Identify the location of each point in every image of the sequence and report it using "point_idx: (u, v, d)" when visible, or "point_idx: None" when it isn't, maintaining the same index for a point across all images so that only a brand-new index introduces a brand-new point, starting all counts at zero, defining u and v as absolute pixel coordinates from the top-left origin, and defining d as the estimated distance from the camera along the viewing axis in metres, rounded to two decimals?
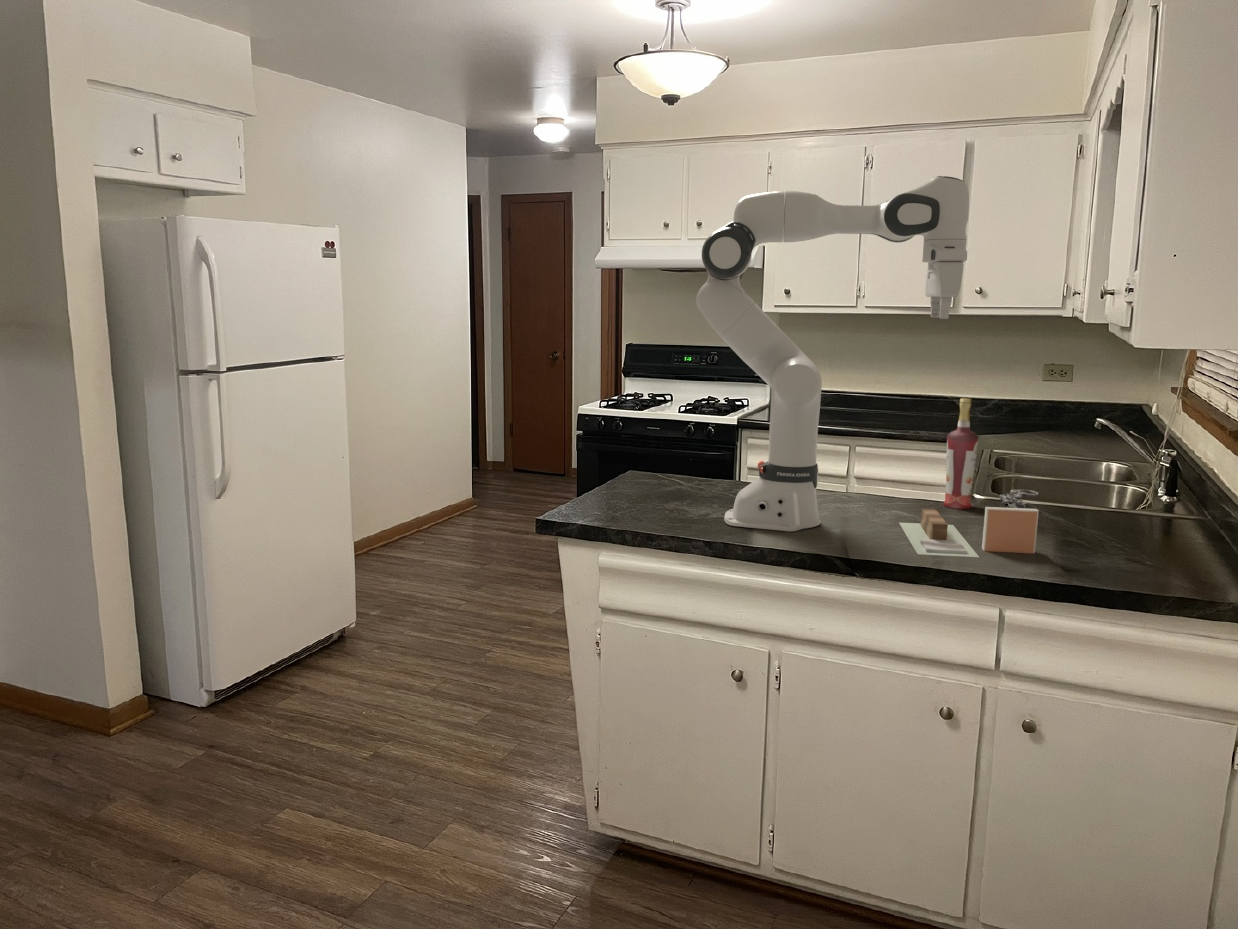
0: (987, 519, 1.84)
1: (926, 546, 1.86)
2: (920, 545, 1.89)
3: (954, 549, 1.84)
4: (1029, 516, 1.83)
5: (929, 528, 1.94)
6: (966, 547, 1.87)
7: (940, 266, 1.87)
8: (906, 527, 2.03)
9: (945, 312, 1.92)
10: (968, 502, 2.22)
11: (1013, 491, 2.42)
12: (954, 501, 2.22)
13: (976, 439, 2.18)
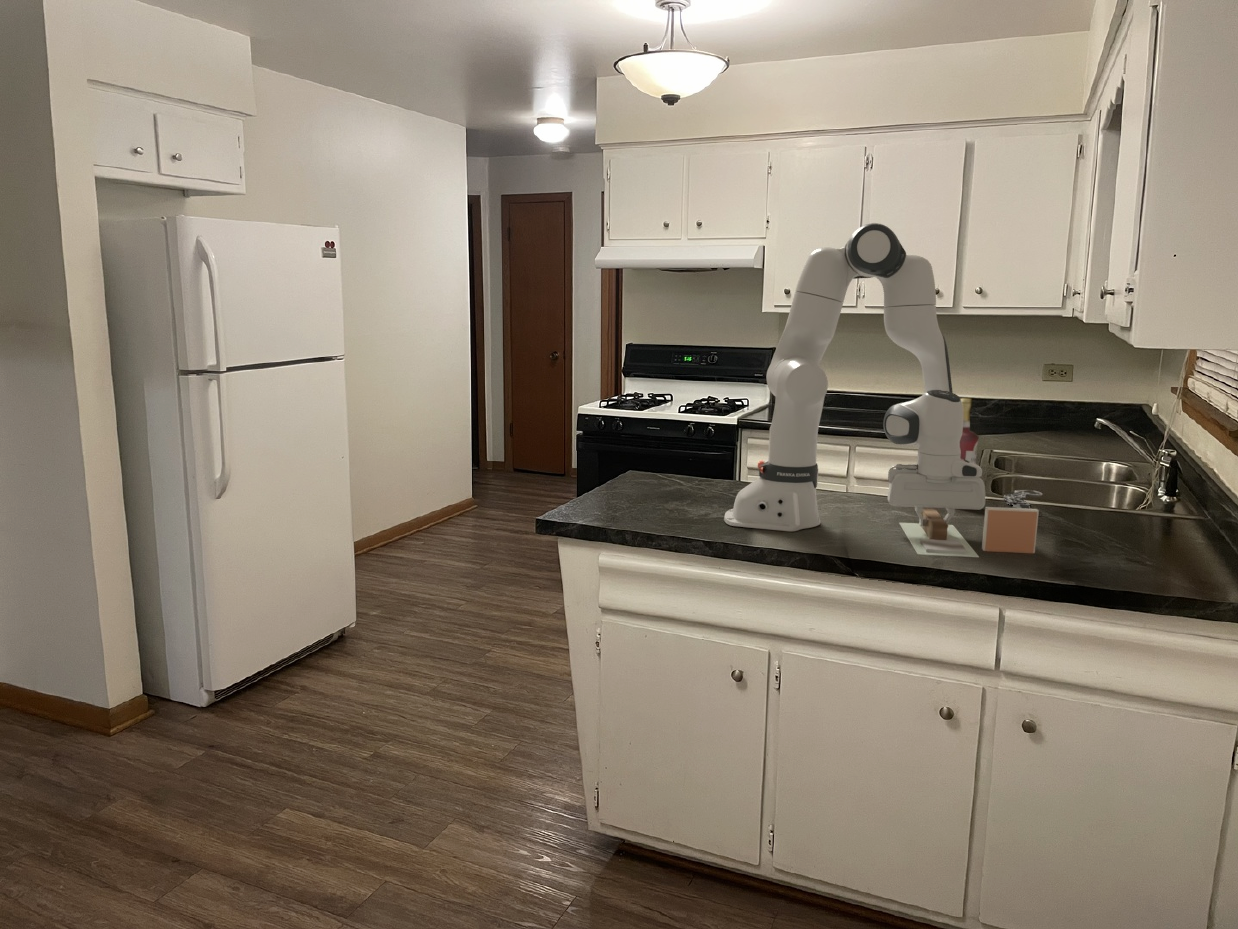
0: (987, 519, 1.84)
1: (926, 546, 1.86)
2: (920, 545, 1.89)
3: (954, 549, 1.84)
4: (1029, 516, 1.83)
5: (929, 528, 1.94)
6: (966, 547, 1.87)
7: (983, 482, 1.92)
8: (906, 527, 2.03)
9: None
10: None
11: (1017, 492, 2.41)
12: None
13: (976, 439, 2.18)
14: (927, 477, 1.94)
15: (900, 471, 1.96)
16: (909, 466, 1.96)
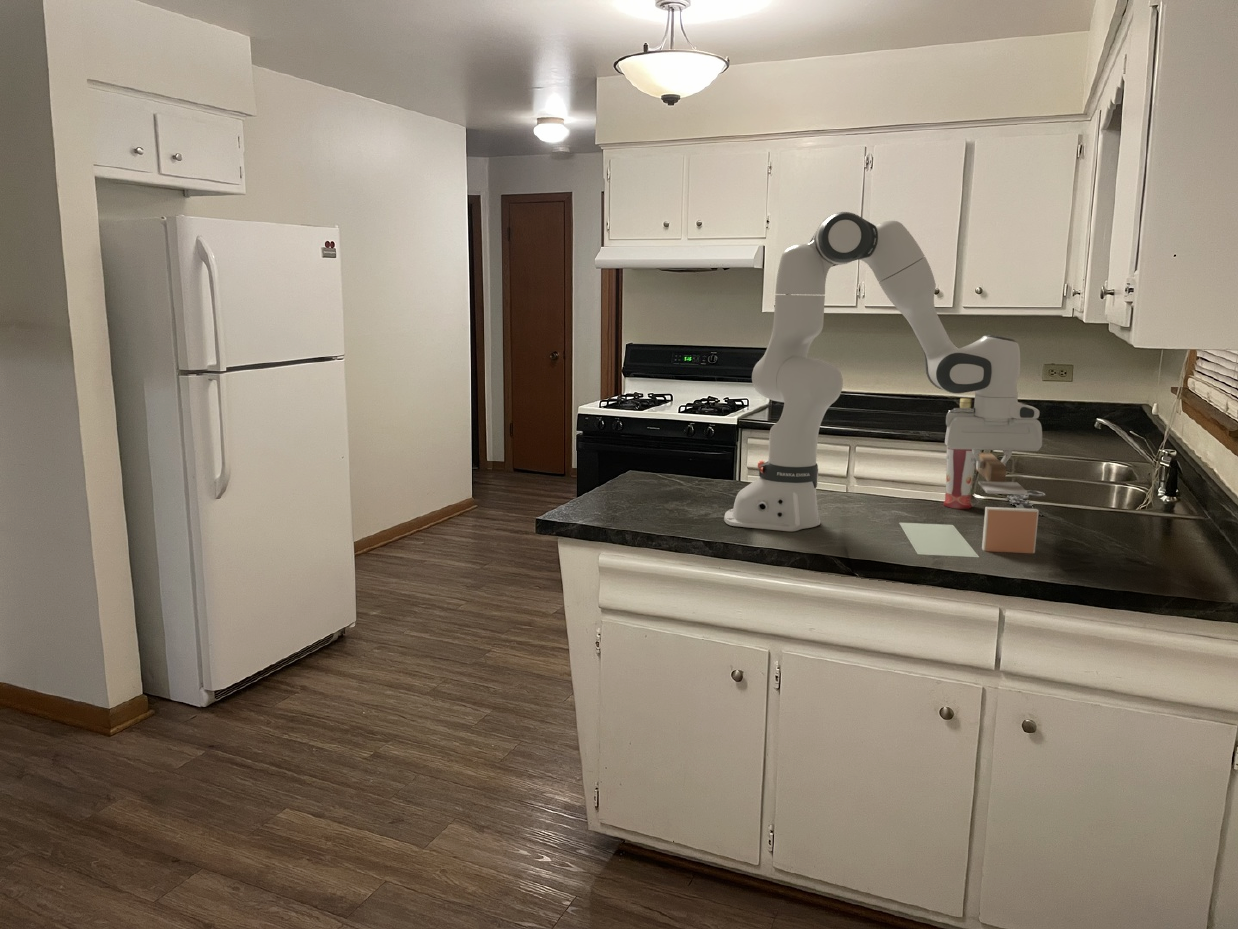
0: (987, 519, 1.84)
1: (986, 488, 1.91)
2: (920, 545, 1.89)
3: (1014, 490, 1.89)
4: (1029, 516, 1.83)
5: (987, 471, 1.99)
6: (966, 547, 1.87)
7: (1040, 423, 1.97)
8: (906, 527, 2.03)
9: None
10: (968, 502, 2.22)
11: None
12: (954, 501, 2.22)
13: None
14: (985, 420, 1.98)
15: (958, 415, 2.01)
16: (967, 409, 2.00)
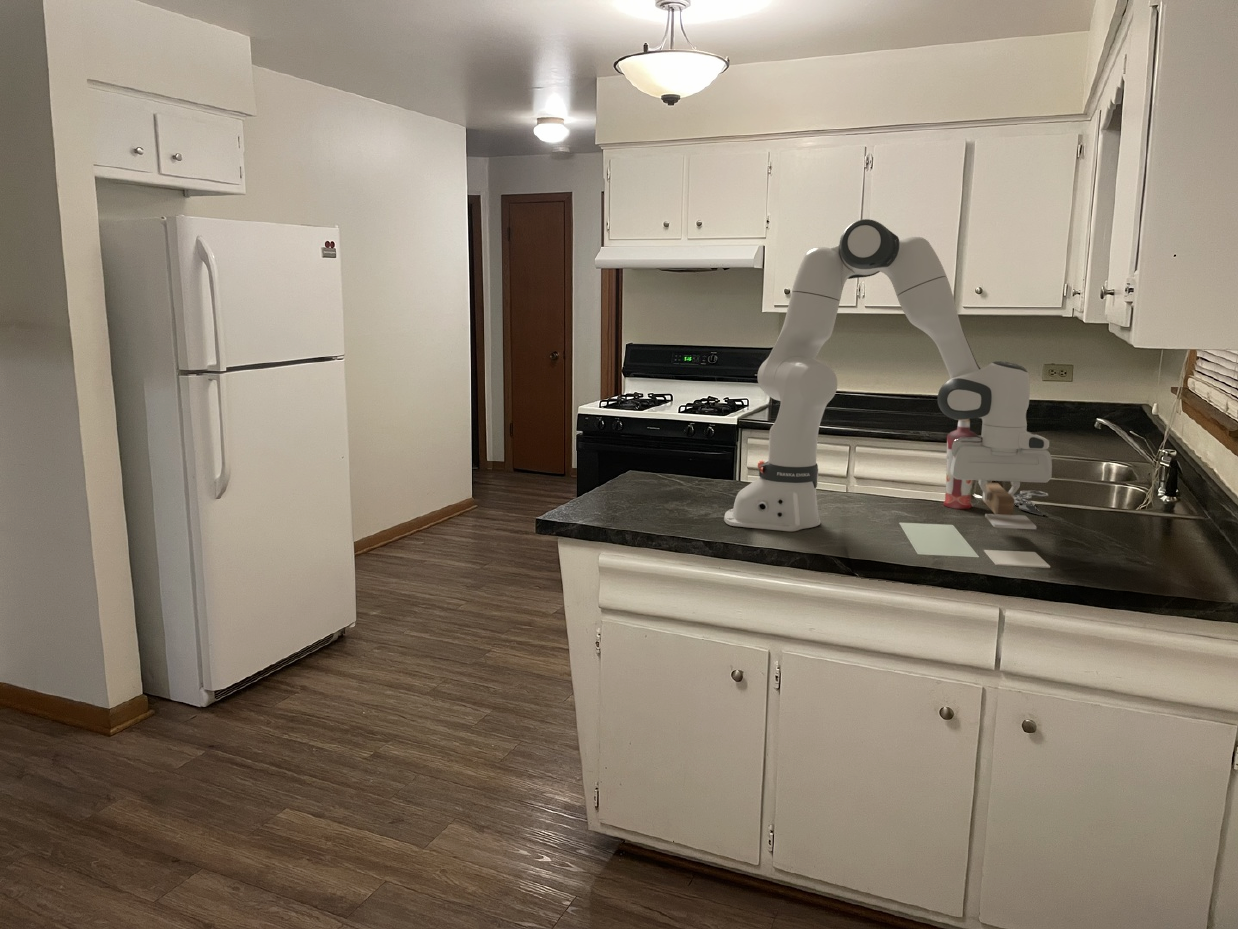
0: None
1: (994, 521, 1.83)
2: (920, 545, 1.89)
3: (1023, 524, 1.81)
4: None
5: (994, 503, 1.91)
6: (966, 547, 1.87)
7: (1049, 454, 1.89)
8: (906, 527, 2.03)
9: None
10: (968, 502, 2.22)
11: (1023, 492, 2.40)
12: (954, 501, 2.22)
13: None
14: (992, 449, 1.91)
15: (964, 444, 1.93)
16: (973, 439, 1.93)
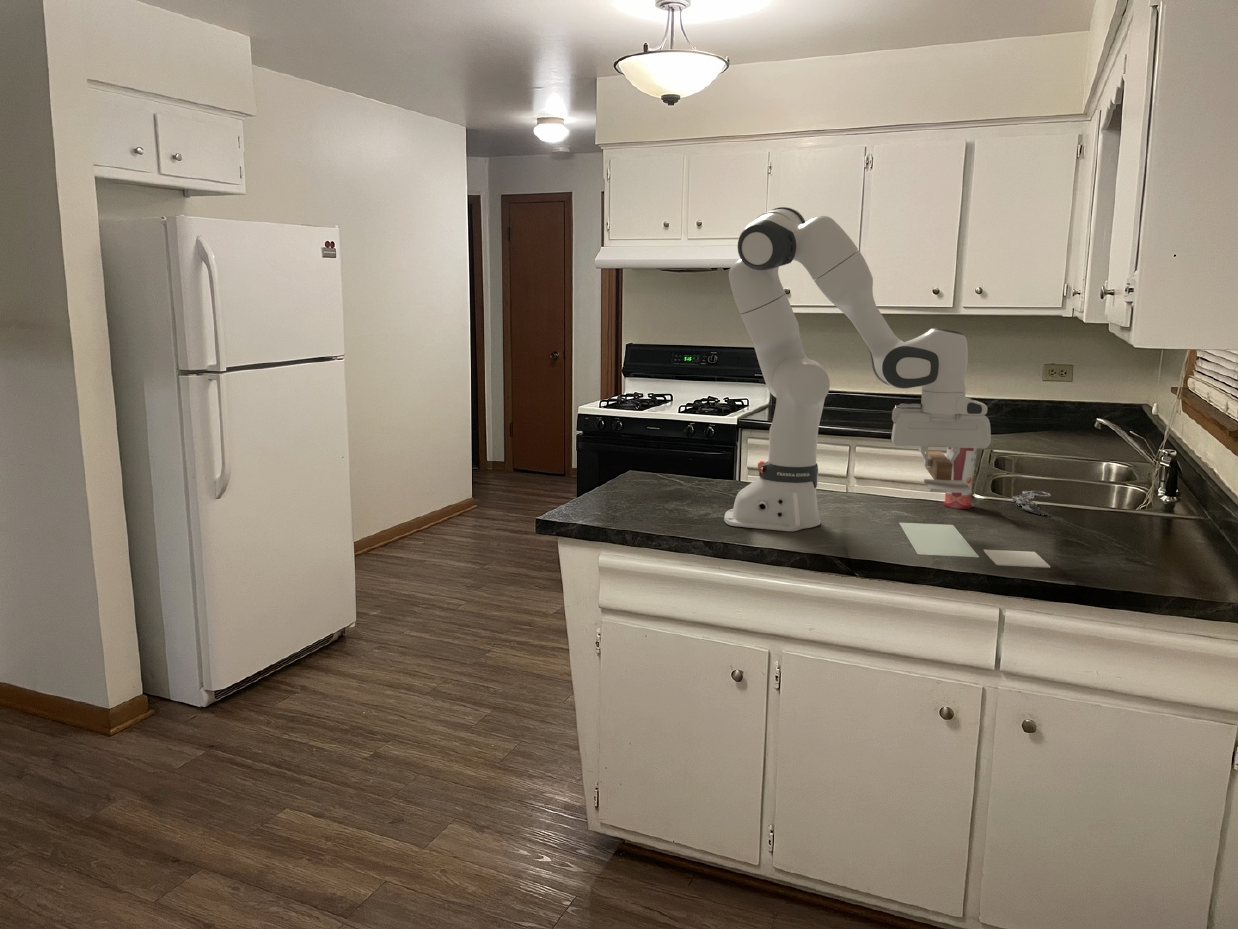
0: None
1: (930, 486, 1.84)
2: (920, 545, 1.89)
3: (959, 488, 1.81)
4: None
5: (933, 468, 1.92)
6: (966, 547, 1.87)
7: (988, 419, 1.89)
8: (906, 527, 2.03)
9: None
10: (968, 502, 2.22)
11: (1025, 492, 2.40)
12: (954, 501, 2.22)
13: None
14: (931, 415, 1.91)
15: (904, 410, 1.94)
16: (913, 405, 1.93)
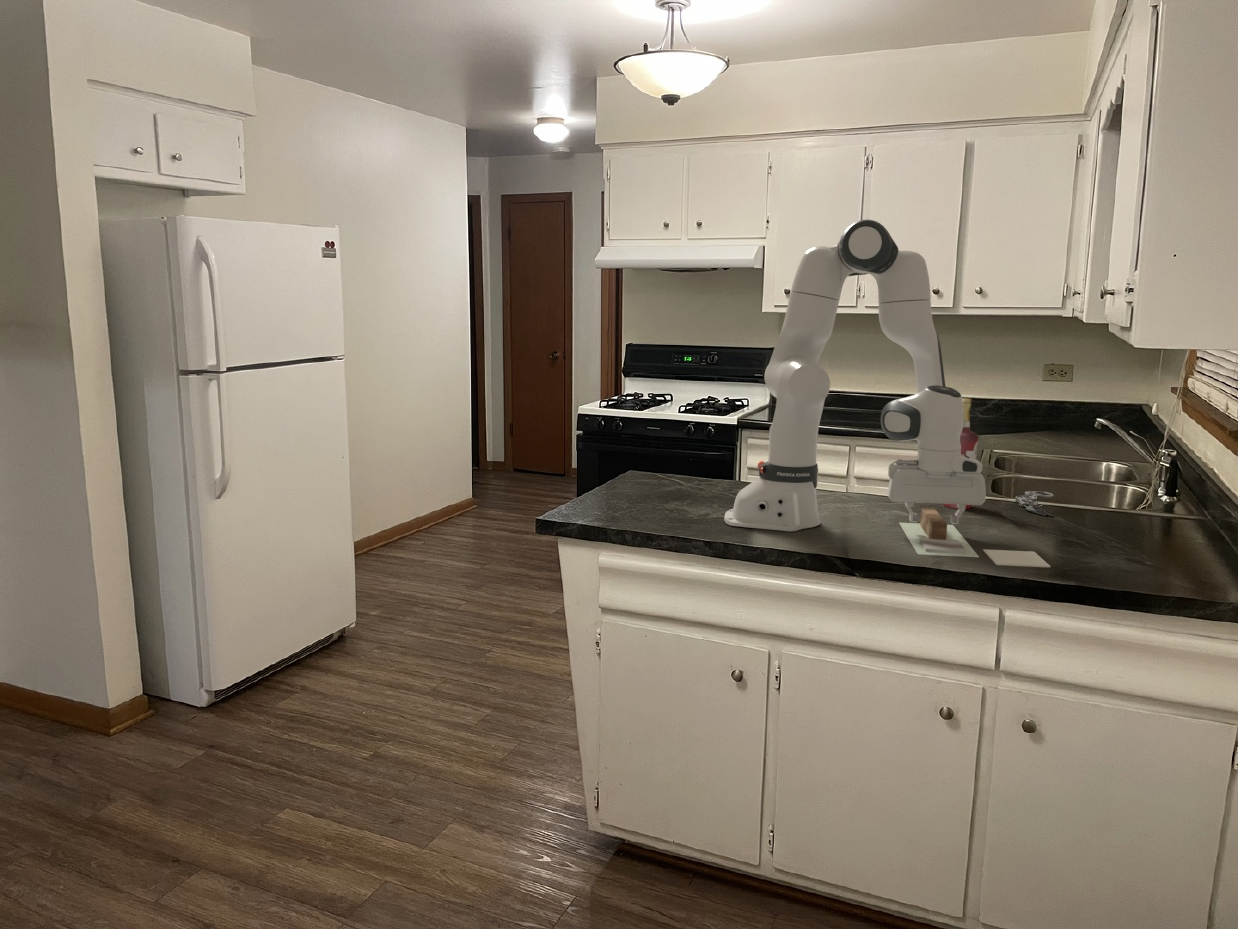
0: None
1: (926, 546, 1.86)
2: (920, 545, 1.89)
3: (953, 549, 1.84)
4: None
5: (929, 528, 1.95)
6: (966, 547, 1.87)
7: (983, 477, 1.92)
8: (906, 527, 2.03)
9: None
10: None
11: (1028, 493, 2.40)
12: None
13: (976, 439, 2.18)
14: (927, 473, 1.94)
15: (900, 467, 1.96)
16: (909, 462, 1.95)
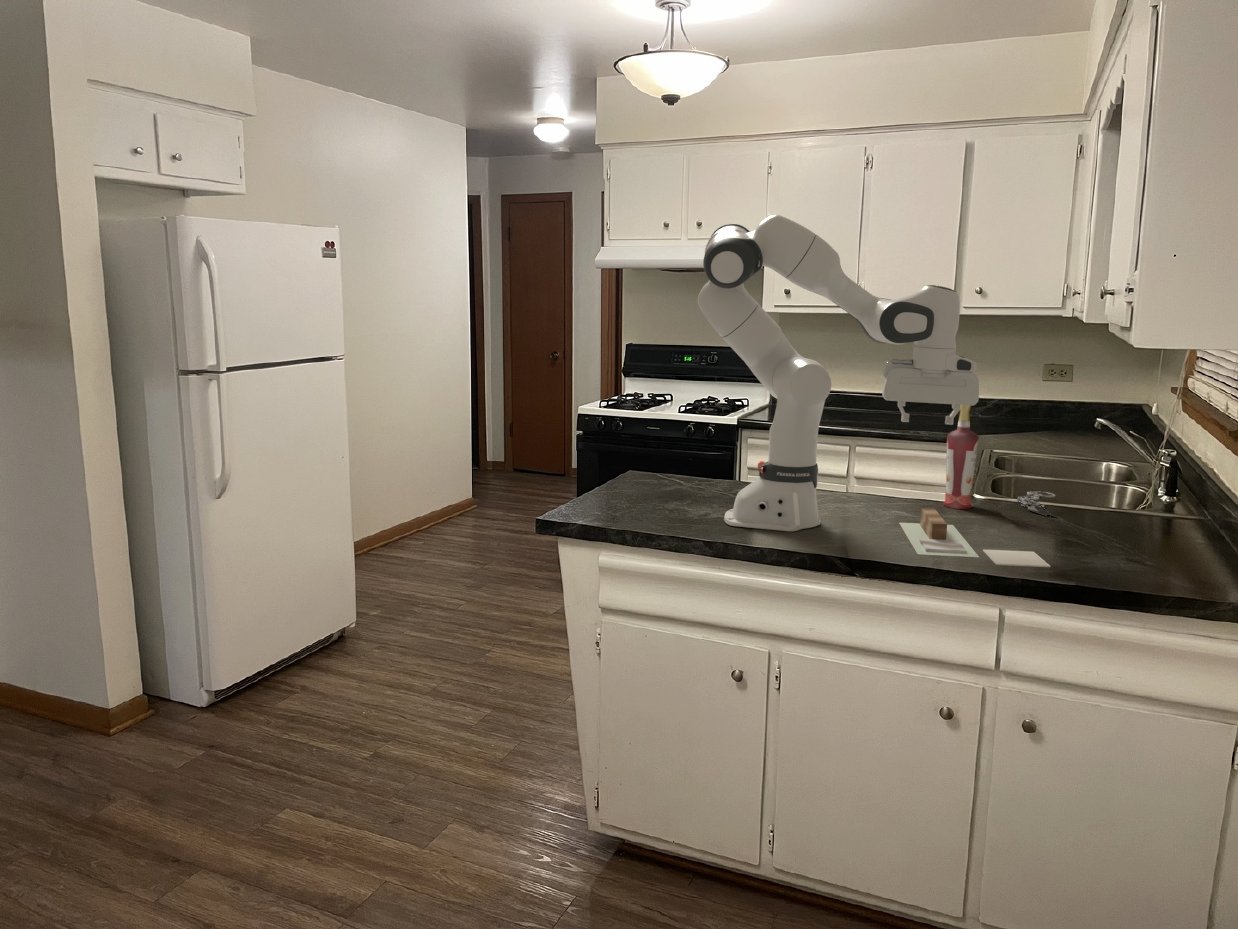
0: None
1: (926, 546, 1.86)
2: (920, 545, 1.89)
3: (953, 549, 1.84)
4: None
5: (929, 528, 1.95)
6: (966, 547, 1.87)
7: (977, 377, 1.94)
8: (906, 527, 2.03)
9: None
10: (968, 502, 2.22)
11: (1030, 493, 2.39)
12: (954, 501, 2.22)
13: (976, 439, 2.18)
14: (922, 371, 1.96)
15: (895, 366, 1.98)
16: (904, 361, 1.97)
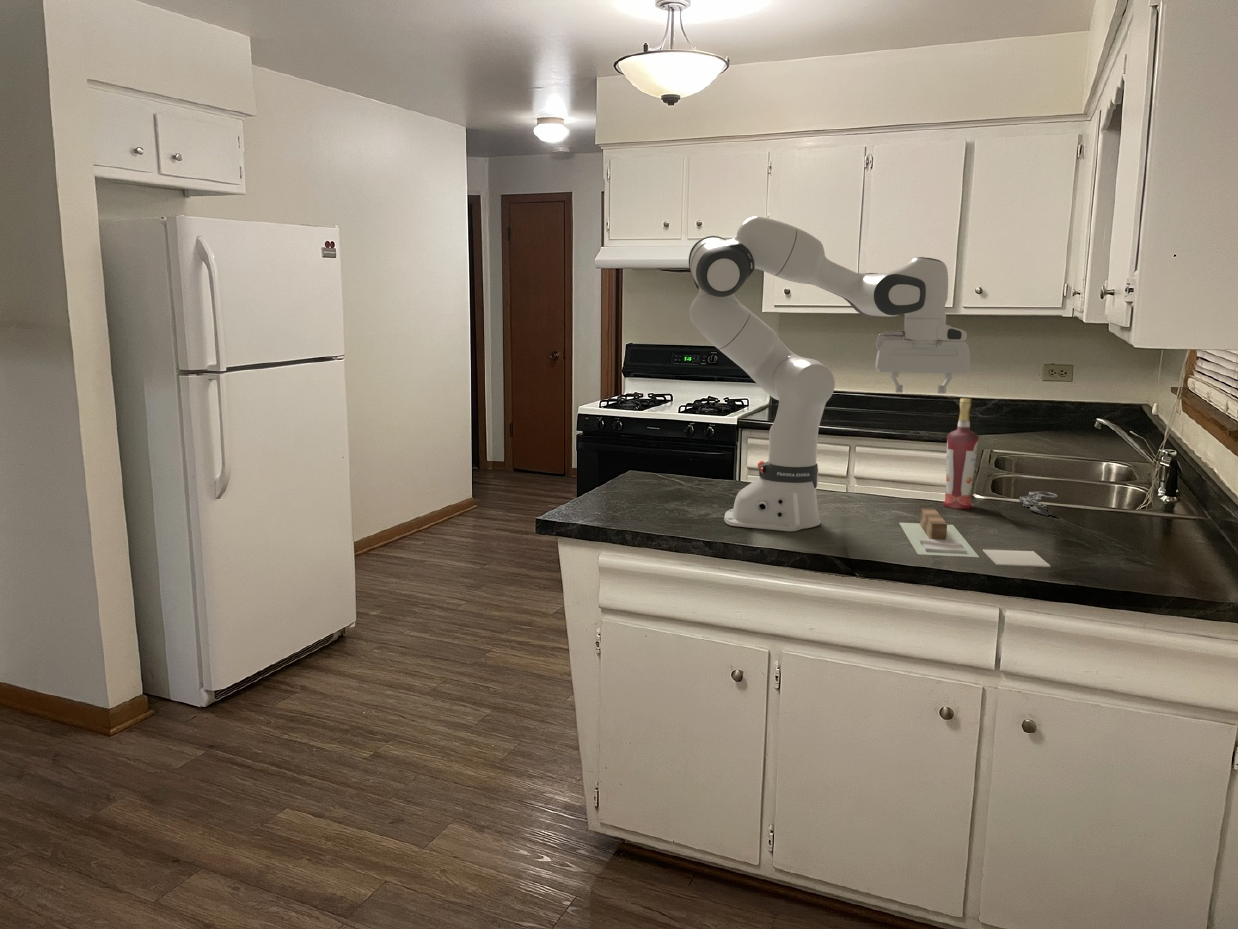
0: None
1: (926, 546, 1.86)
2: (920, 545, 1.89)
3: (953, 549, 1.84)
4: None
5: (929, 528, 1.95)
6: (966, 547, 1.87)
7: (967, 345, 1.98)
8: (906, 527, 2.03)
9: None
10: (968, 502, 2.22)
11: (1032, 493, 2.39)
12: (954, 501, 2.22)
13: (976, 439, 2.18)
14: (913, 342, 2.00)
15: (887, 338, 2.02)
16: (896, 332, 2.01)
